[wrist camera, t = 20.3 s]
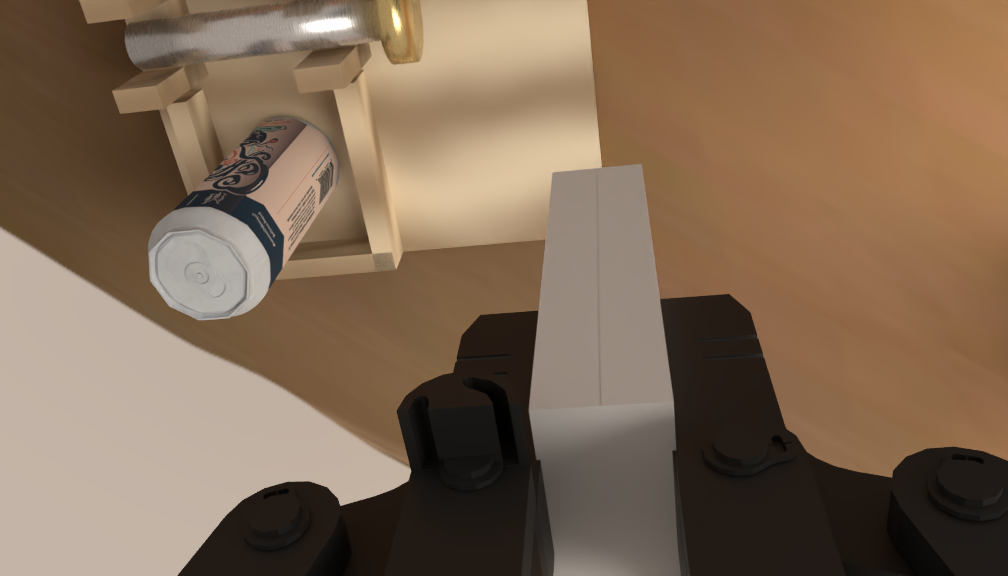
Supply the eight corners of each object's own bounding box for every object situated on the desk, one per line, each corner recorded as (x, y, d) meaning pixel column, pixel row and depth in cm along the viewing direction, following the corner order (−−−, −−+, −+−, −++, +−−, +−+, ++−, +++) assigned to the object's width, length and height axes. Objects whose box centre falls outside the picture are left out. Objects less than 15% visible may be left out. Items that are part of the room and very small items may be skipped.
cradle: (112, -50, 39) (45, -27, 35) (576, -116, 36) (574, -102, 32) (216, 262, 47) (173, 316, 42) (607, 229, 44) (609, 283, 39)
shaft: (143, -12, 38) (98, 8, 35) (410, -48, 36) (392, -31, 33) (172, 78, 40) (132, 106, 36) (428, 48, 38) (411, 73, 35)
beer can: (287, 92, 41) (184, 192, 31) (362, 162, 43) (287, 281, 32) (227, 156, 43) (112, 271, 33) (301, 221, 45) (212, 351, 34)
